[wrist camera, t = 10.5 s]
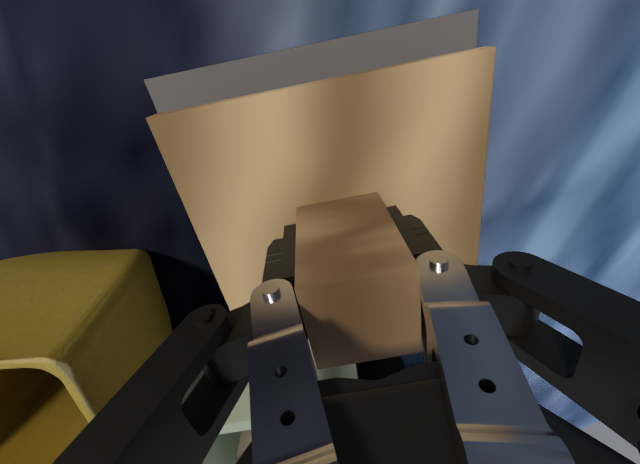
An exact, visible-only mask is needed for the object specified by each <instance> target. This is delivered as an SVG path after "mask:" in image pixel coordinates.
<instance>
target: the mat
mask: <svg viewBox="0 0 640 464" xmlns="http://www.w3.org/2000/svg"><path fill="white" fill-rule="evenodd" d="M478 13H479V9H475V10H470V11H465V12H461V13H456V14H451V15H447V16H442V17H437V18H432V19H428V20H423V21H418V22H414V23H409V24H404V25H399V26H395V27H390V28H385V29H381V30H376V31H371V32H366V33H362V34H357V35H352V36H348V37H343V38H338V39H334V40H329V41H324V42H319V43H315V44H310V45H305V46H301V47H296V48H291V49H286V50H282V51H277V52H272V53H268V54H263V55H258V56H253V57H249V58H244V59H239V60H235V61H230V62H225V63H221V64H216V65H211V66H206V67H202V68H197V69H192V70H188V71H183V72H178V73H173V74H169V75H164V76H159V77H155V78H150V79H145V80H144V81H145V84H146V86H147V89H148V91H149V93H150V96H151V98H152V101H153V103H154V105H155V108H156V110H157V113H163V112H167V111H172V110H177V109H182V108H187V107H192V106H197V105H202V104H206V103H211V102H216V101H221V100H226V99H231V98H236V97H241V96H246V95H250V94H255V93H260V92H265V91H270V90H275V89H280V88H285V87H289V86H294V85H299V84H304V83H309V82H314V81H319V80H324V79H328V78H333V77H338V76H343V75H348V74H353V73H358V72H363V71H367V70H372V69H377V68H382V67H387V66H392V65H397V64H402V63H406V62H411V61H416V60H421V59H426V58H431V57H436V56H441V55H445V54H450V53H455V52H460V51H465V50H470V49H475V48H476V47H477V30H478Z"/></svg>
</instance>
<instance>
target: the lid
mask: <svg viewBox="0 0 640 464" xmlns="http://www.w3.org/2000/svg"><path fill="white" fill-rule="evenodd" d="M495 52H496V46H488V47H480V48H475V49H470V50H465V51H460V52H455V53H450V54H445V55H441V56H436V57H431V58H426V59H421V60H416V61H411V62H406V63H402V64H397V65H392V66H387V67H382V68H377V69H372V70H367V71H363V72H358V73H353V74H348V75H343V76H338V77H333V78H328V79H324V80H319V81H314V82H309V83H304V84H299V85H294V86H289V87H285V88H280V89H275V90H270V91H265V92H260V93H255V94H250V95H246V96H241V97H236V98H231V99H226V100H221V101H216V102H211V103H206V104H202V105H197V106H192V107H187V108H182V109H177V110H172V111H167V112H163V113H158V114H154V115H152V116H149V117H147V118H146V120H147V122H148V124H149V127H150V129H151V131H152V134H153V136H154V138H155V140H156V143H157V145H158V147H159V150H160V152H161V154H162V156H163V159H164V161H165V163H166V165H167V168H168V170H169V172H170V175H171V177H172V179H173V181H174V184H175V186H176V188H177V191H178V193H179V195H180V197H181V200H182V202H183V204H184V207H185V209H186V211H187V213H188V216H189V218H190V220H191V223H192V225H193V227H194V229H195V232H196V234H197V236H198V239H199V241H200V243H201V245H202V248H203V250H204V252H205V254H206V257H207V259H208V261H209V264H210V266H211V268H212V270H213V273H214V275H215V277H216V280H217V282H218V284H219V286H220V289H221V291H222V293H223V296H224V298H225V300H226V302H227V305H228V307H229V309H230V311H231V310H234V309H236V308H239V307H241V306H243V305H245V304H247V303H249V302H250V296H251V293H252V291H253V290H254V289H255V288H256V287H257V286H258V285H260V284H261V283H262V278H263V272H264V266H265V260H266V257H267V256H266V254H267V248H268V246H269V245H270V244H271V243H272V241H273V240H275V239H280V238H283V233H284V226H286V225H291V224H296V246H295V287H294V290H295V294H296V297H297V301H298V304H299V307H300V311H301V314H302V318H303V321H304V325H305V328H306V332H307V335H308V340H309V342H310V346H311V349H312V353H313V356H314V360H315V363H316V367H317V370H319V369H325V368H331V367H337V366H343V365H349V364H355V363H361V362H367V361H373V360H379V359H385V358H391V357H397V356H402V355H408V354H414V353H420V352H422V346H421V302H420V292H419V280H420V267H419V266H418V264H417V262H416V260H415V258H414V257H413V255H412V253H411V251H410V250H409V248H408V246H407V244H406V243H405V241H404V239H403V237H402V235H401V234H400V232H399V230H398V228H397V227H396V225H395V223H394V221H393V219H392V218H391V216H390V214H389V212H388V211H387V209H386V207H389V206H394V205H396V206H397V208H398V209H399V211H400V212H401V214H402V215H403V216H405V215H413V216H415V217H417V218H419V219H421V221H422V222H423V223H424V225H425V226H426V228H427V229H428V230H429V232H430V233H431V234H432V236H433V237H434V238H435V240H436V241H437V243H438V244H439V245H440V247H441V248H442V249H443V251H448V252H451V253H454V254H455V255H457V256H458V257H460V258H461V260H462V262H463V264H467V265H477V261H478V250H479V238H480V227H481V215H482V203H483V192H484V180H485V169H486V157H487V145H488V134H489V122H490V110H491V99H492V87H493V76H494V64H495Z"/></svg>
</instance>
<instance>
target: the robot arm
mask: <svg viewBox="0 0 640 464" xmlns="http://www.w3.org/2000/svg"><path fill="white" fill-rule="evenodd" d="M386 209H387V211H388V212H389V214H390V216H391V218H392V219H393V221H394V223H395V225H396V227H397V228H398V230H399V232H400V234H401V235H402V237H403V239H404V241H405V243H406V244H407V246H408V248H409V250H410V251H411V253H412V255H413V257H414V258H415V260H416V262H417V264H418V266H419V267H420V280H419V292H420V302H421V346H422V352H423V357H424V363H421V364H415V365H413V366H410V367H408V368H406V369H403V370H401V371H399V372H397V373H394V374H392V375H390V376H387V377H385V378H383V379H380V380H366V379H353V378H339V377H336V378H330V379H324V380H318V376H317V372H316V368H315V365H314V361H313V357H312V354H311V350H310V346H309V343H308V335H307V332H306V328H305V325H304V321H303V318H302V314H301V311H300V307H299V304H298V301H297V297H296V294H295V290H294V287H295V246H296V224H291V225H286V226H284V233H283V238H280V239H275V240H273V241H272V243H271V244H270V245H269V246H268V248H267V254H266V256H267V257H266V260H265V266H264V272H263V278H262V283H261V284H260V285H258V286H257V287H256V288H255V289H254V290H253V291H252V293H251V296H250V302H249V303H247V304H245V305H243V306H241V307H239V308H236V309H234V310H231V311H229V312H226V310H225V308H224V307H223V306H222V305H219V304H208V305H204V306H202V307H199V308H197V309H195V310H194V311H192V312H191V313H190V314H189V315H187V316H186V317H185V319H184V320H183V321H182V322H181V323H180V324H179V325H178V326H177V327H176V328H175V330H174V331H173V332H172V333H171V334H170V335H169V336H168V337H167V338H166V339H165V340H164V342H163V343H162V344H161V345H160V346H159V347H158V348H157V349H156V350H155V351H154V352H153V354H152V355H151V356H150V357H149V358H148V359H147V360H146V361H145V362H144V363H143V364H142V366H141V367H140V368H139V369H138V370H137V371H136V372H135V373H134V374H133V375H132V377H131V378H130V379H129V380H128V381H127V382H126V383H125V384H124V385H123V386H122V387H121V389H120V390H119V391H118V392H117V393H116V394H115V395H114V396H113V397H112V398H111V399H110V401H109V402H108V403H107V404H106V405H105V406H104V407H103V408H102V409H101V410H100V411H99V413H98V414H97V415H96V416H95V417H94V418H93V419H92V420H91V421H90V422H89V424H88V425H87V426H86V427H85V428H84V429H83V430H82V431H81V432H80V433H79V434H78V436H77V437H76V438H75V439H74V440H73V441H72V442H71V443H70V444H69V445H68V446H67V448H66V449H65V450H64V451H63V452H62V453H61V454H60V455H59V456H58V457H57V458H56V460H55V461H54V462H53V463H52V464H202V463H203V461H204V459H205V457H206V456H207V454H208V452H209V450H210V449H211V447H212V445H213V443H214V442H215V440H216V438H217V436H218V435H219V433H220V431H221V430H222V428H223V426H224V424H225V423H226V421H227V419H228V417H229V416H230V414H231V412H232V410H233V409H234V407H235V405H236V403H237V402H238V400H239V398H240V396H241V395H242V393H243V391H244V389H245V388H246V386H247V384H248V382H249V394H250V416H251V438H252V441H251V443H250V444H249V445H248V447H247V448H246V450H245V451H244V452H243V454H242V455H241V457H240V458H239V459H238V461H237V462H236V464H635V463H634V462H632V461H631V460H629V459H628V458H626V457H624V456H623V455H621V454H619V453H618V452H616V451H615V450H613V449H611V448H610V447H608V446H606V445H605V444H603V443H601V442H600V441H598V440H597V439H595V438H593V437H591V436H590V435H588V434H587V433H585V432H583V431H582V430H580V429H579V428H577V427H575V426H574V425H572V424H570V423H569V422H567V421H566V420H564V419H562V418H561V417H559V416H557V415H556V414H554V413H552V412H551V411H549V410H548V409H546V408H544V407H543V406H541V405H539V404H538V403H537V401H536V399H535V397H534V394H533V392H532V390H531V388H530V386H529V384H528V382H527V380H526V378H525V375H524V373H523V371H522V369H521V367H520V365H519V363H518V361H517V359H518V360H519V361H520V362H522V363H523V364H524V365H526V366H527V367H528V368H530V369H531V370H533V371H534V372H535V373H537V374H538V375H539V376H541V377H542V378H543V379H545V380H546V381H547V382H549V383H550V384H551V385H553V386H554V387H555V388H557V389H558V390H559V391H561V392H562V393H563V394H565V395H566V396H567V397H569V398H570V399H571V400H573V401H574V402H575V403H577V404H578V405H579V406H581V407H582V408H583V409H585V410H586V411H587V412H589V413H590V414H591V415H593V416H594V417H595V418H597V419H598V420H599V421H601V422H602V423H604V424H605V425H606V426H608V427H609V428H610V429H612V430H613V431H614V432H616V433H617V434H618V435H620V436H621V437H622V438H624V439H625V440H626V441H628V442H629V443H630V444H632V445H633V446H634V447H636V448H637V449H638V451H639V453H640V302H639V301H637V300H635V299H632V298H630V297H628V296H626V295H623V294H621V293H619V292H617V291H614V290H612V289H610V288H608V287H605V286H603V285H601V284H598V283H596V282H594V281H592V280H589V279H587V278H585V277H583V276H580V275H578V274H576V273H574V272H571V271H569V270H567V269H564V268H562V267H560V266H558V265H555V264H553V263H551V262H549V261H546V260H544V259H542V258H540V257H537V256H535V255H532V254H529V253H525V252H516V251H512V252H504V253H501V254H499V255H497V256H496V257H495V258H494V259H493V264H492V266H480V265H467V264H463V262H462V260H461V258H460V257H458V256H457V255H455V254H454V253H451V252H448V251H443V249H442V248H441V247H440V245H439V244H438V243H437V241H436V240H435V238H434V237H433V236H432V234H431V233H430V232H429V230H428V229H427V228H426V226H425V225H424V223H423V222H422V221H421V219H419V218H417V217H415V216H413V215H405V216H403V215H402V214H401V212H400V211H399V209H398V208H397V206H396V205H394V206H389V207H386ZM540 312H542V313H544V314H545V315H547V316H549V317H551V318H552V319H554V320H556V321H557V322H559V323H561V324H563V325H564V326H566V327H568V328H570V329H571V330H573V331H574V332H575V333H576V334H577V335H578V336H579V337H580V339H581V340H582V343H583V346H582V345H580V344H578V343H577V342H575V341H573V340H572V339H570V338H568V337H567V336H565V335H563V334H562V333H560V332H558V331H557V330H555V329H553V328H552V327H550V326H549V325H547V324H545V323H544V322H542V321H540V320H539V314H540ZM202 370H203V371H204V375H203V376H202V377H201V379H200V380H199V382H198V383H197V384H196V386H195V387H194V389H193V390H192V391H191V393H190V394H189V396H188V397H187V398H186V400H185V401H184V403H183V404H182V400H183V397H184V395H185V393H186V392H187V390H188V389H189V388H190V386H191V385H192V383H193V382H194V381H195V379H196V378H197V377H198V375H199V374H200V372H201V371H202Z"/></svg>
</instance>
